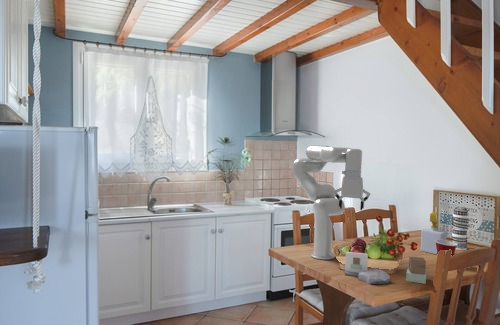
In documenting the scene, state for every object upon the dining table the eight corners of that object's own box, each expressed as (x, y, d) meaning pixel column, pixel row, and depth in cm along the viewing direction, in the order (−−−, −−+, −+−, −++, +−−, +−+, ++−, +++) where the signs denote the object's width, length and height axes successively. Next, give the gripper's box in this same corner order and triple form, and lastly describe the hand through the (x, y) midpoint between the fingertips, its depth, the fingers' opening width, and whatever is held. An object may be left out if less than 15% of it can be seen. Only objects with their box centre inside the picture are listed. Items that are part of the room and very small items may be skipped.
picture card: (345, 271, 188) (345, 250, 188) (367, 273, 185) (367, 252, 185) (344, 275, 182) (345, 253, 182) (367, 277, 179) (367, 255, 179)
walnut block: (408, 269, 181) (409, 256, 181) (422, 270, 180) (423, 257, 180) (410, 273, 175) (411, 259, 175) (425, 274, 174) (425, 260, 174)
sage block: (407, 276, 183) (407, 268, 183) (426, 279, 180) (426, 270, 180) (406, 281, 176) (406, 272, 176) (425, 284, 173) (425, 275, 172)
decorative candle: (447, 247, 239) (449, 206, 238) (455, 245, 245) (456, 205, 244) (463, 251, 232) (464, 208, 231) (470, 248, 238) (472, 207, 237)
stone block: (391, 286, 174) (375, 275, 183) (393, 276, 173) (376, 265, 182) (372, 291, 169) (356, 279, 177) (374, 281, 168) (357, 270, 176)
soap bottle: (446, 254, 224) (448, 213, 223) (440, 255, 220) (442, 214, 219) (426, 249, 234) (427, 210, 233) (420, 251, 230) (421, 211, 229)
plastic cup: (457, 268, 196) (458, 245, 196) (433, 265, 201) (434, 242, 200) (456, 263, 206) (457, 240, 205) (433, 260, 210) (434, 238, 210)
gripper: (334, 173, 189) (332, 208, 191) (371, 175, 185) (369, 211, 186) (335, 172, 197) (333, 206, 198) (371, 174, 192) (369, 209, 193)
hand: (350, 209), depth 192 cm, fingers open, 9 cm apart
